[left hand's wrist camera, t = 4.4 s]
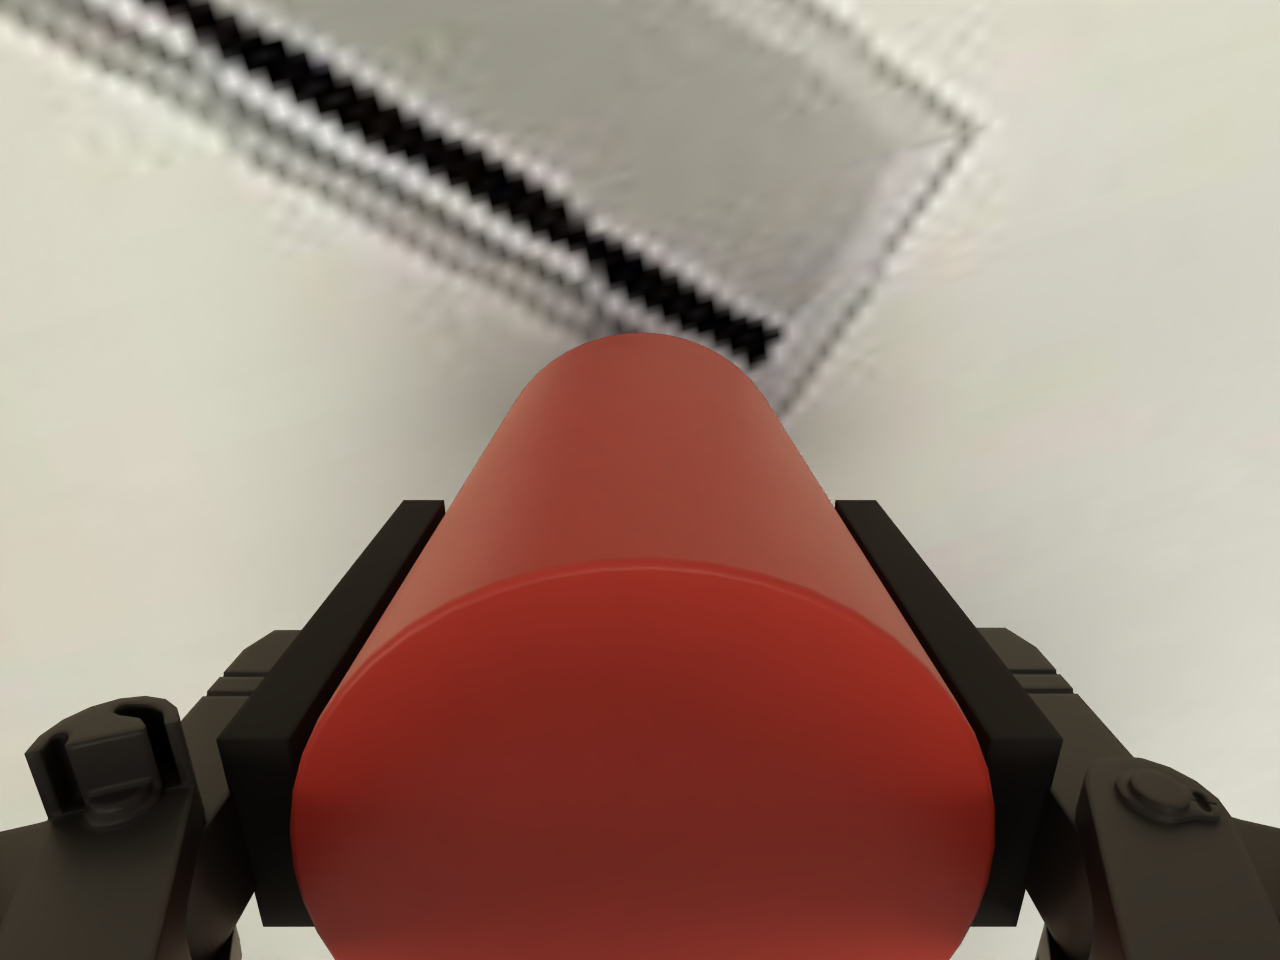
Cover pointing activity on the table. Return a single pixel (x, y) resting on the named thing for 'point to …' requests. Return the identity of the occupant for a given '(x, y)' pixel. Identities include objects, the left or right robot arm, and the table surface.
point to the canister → (642, 706)
